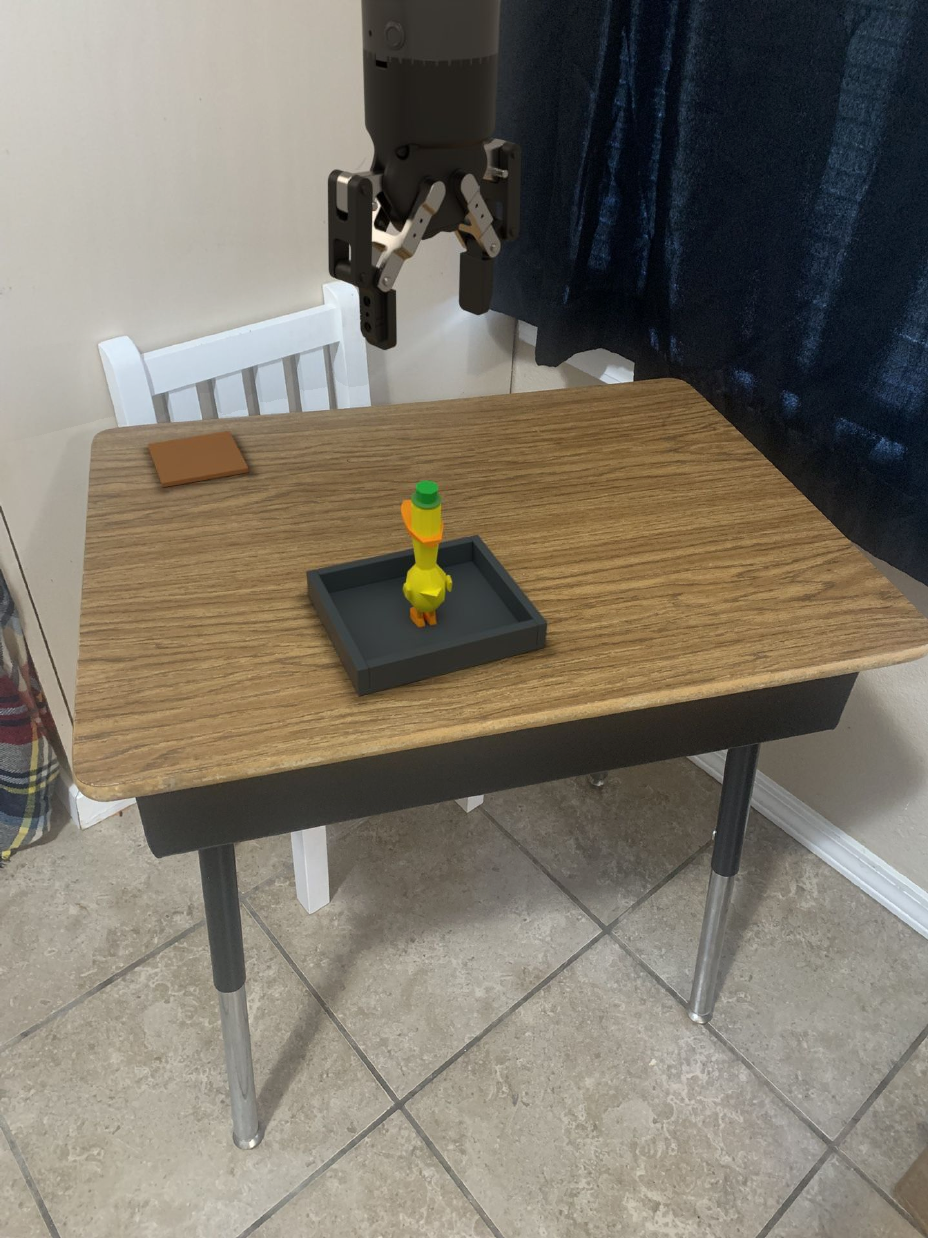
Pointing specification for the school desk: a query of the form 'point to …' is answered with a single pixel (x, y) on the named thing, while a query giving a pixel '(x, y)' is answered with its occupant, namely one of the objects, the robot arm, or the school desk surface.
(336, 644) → the tray
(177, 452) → the coaster
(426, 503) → the toy figure
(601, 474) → the school desk surface
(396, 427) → the school desk surface
